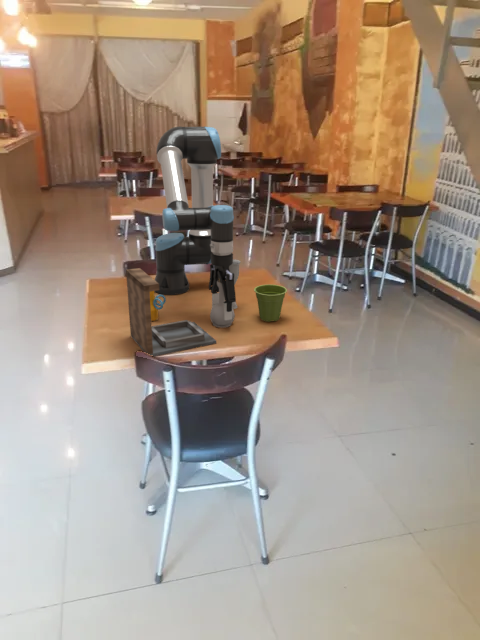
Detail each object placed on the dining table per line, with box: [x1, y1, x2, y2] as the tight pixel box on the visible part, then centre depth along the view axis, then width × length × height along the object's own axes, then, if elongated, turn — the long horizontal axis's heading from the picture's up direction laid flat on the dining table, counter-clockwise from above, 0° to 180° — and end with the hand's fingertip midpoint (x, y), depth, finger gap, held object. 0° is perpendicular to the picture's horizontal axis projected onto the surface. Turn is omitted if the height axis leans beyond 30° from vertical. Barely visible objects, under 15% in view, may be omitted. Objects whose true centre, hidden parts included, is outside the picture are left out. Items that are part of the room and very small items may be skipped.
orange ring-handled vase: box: [150, 277, 167, 322], centre depth 179 cm, size 12×10×15 cm
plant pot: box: [253, 284, 288, 322], centre depth 182 cm, size 12×12×11 cm
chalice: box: [229, 258, 241, 310], centre depth 192 cm, size 7×7×18 cm
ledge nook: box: [125, 267, 217, 357], centre depth 161 cm, size 18×23×23 cm
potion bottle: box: [209, 279, 236, 329], centre depth 175 cm, size 9×9×18 cm
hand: (221, 315), depth 177 cm, fingers closed on potion bottle, 9 cm apart
